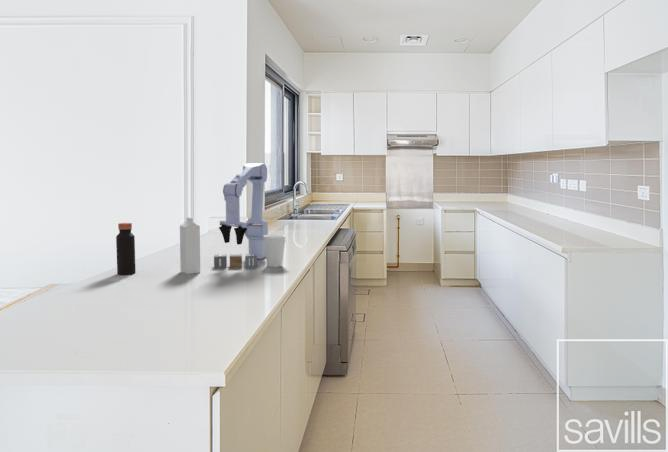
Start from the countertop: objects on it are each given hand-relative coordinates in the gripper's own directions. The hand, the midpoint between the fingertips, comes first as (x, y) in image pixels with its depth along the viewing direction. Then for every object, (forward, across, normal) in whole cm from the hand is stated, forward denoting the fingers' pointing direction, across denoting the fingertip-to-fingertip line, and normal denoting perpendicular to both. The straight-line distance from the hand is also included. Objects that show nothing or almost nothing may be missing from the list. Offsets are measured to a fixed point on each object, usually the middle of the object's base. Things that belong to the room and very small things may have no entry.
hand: (233, 243), depth 240 cm
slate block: (+10, +5, +5) cm, 13 cm away
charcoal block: (+10, -4, -4) cm, 11 cm away
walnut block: (+10, +1, +1) cm, 10 cm away
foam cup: (+10, +12, +13) cm, 20 cm away
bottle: (+10, -20, -38) cm, 44 cm away
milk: (+10, -4, -20) cm, 23 cm away
